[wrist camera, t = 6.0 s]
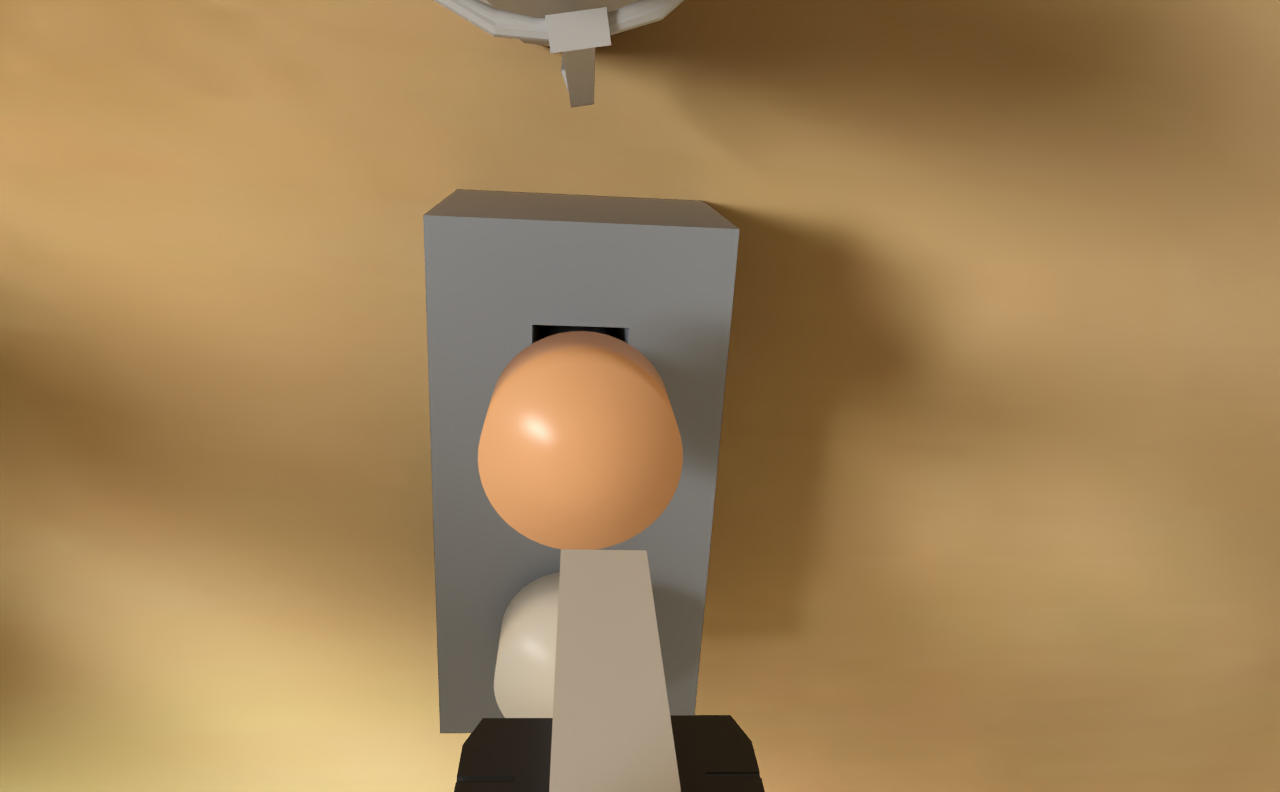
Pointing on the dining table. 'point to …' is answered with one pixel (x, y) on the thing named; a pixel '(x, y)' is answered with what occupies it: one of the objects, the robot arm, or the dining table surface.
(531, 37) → the water bottle
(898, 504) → the dining table surface
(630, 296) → the console
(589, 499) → the knob
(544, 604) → the knob
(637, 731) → the robot arm
